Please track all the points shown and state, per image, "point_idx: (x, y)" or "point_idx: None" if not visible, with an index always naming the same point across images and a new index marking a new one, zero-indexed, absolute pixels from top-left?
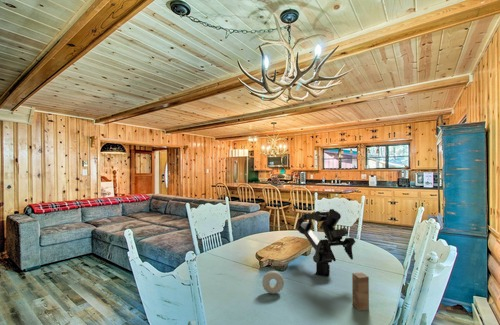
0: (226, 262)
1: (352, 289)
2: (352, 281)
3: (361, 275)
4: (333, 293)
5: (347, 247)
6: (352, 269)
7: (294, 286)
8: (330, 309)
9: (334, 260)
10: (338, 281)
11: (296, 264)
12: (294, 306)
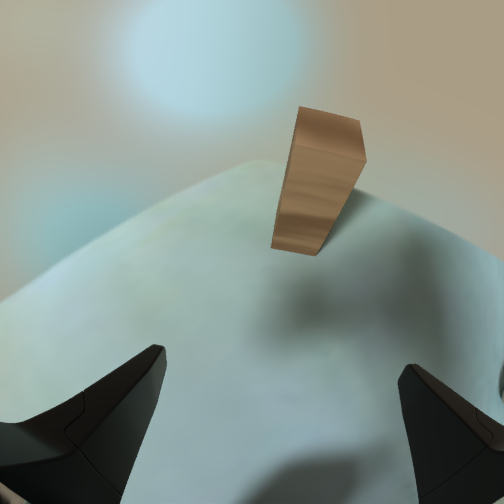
0: None
1: (334, 221)
2: (349, 194)
3: (328, 125)
4: (337, 363)
5: (79, 493)
6: None
7: None
8: (407, 260)
9: (413, 374)
10: (215, 463)
11: None
12: (485, 310)
